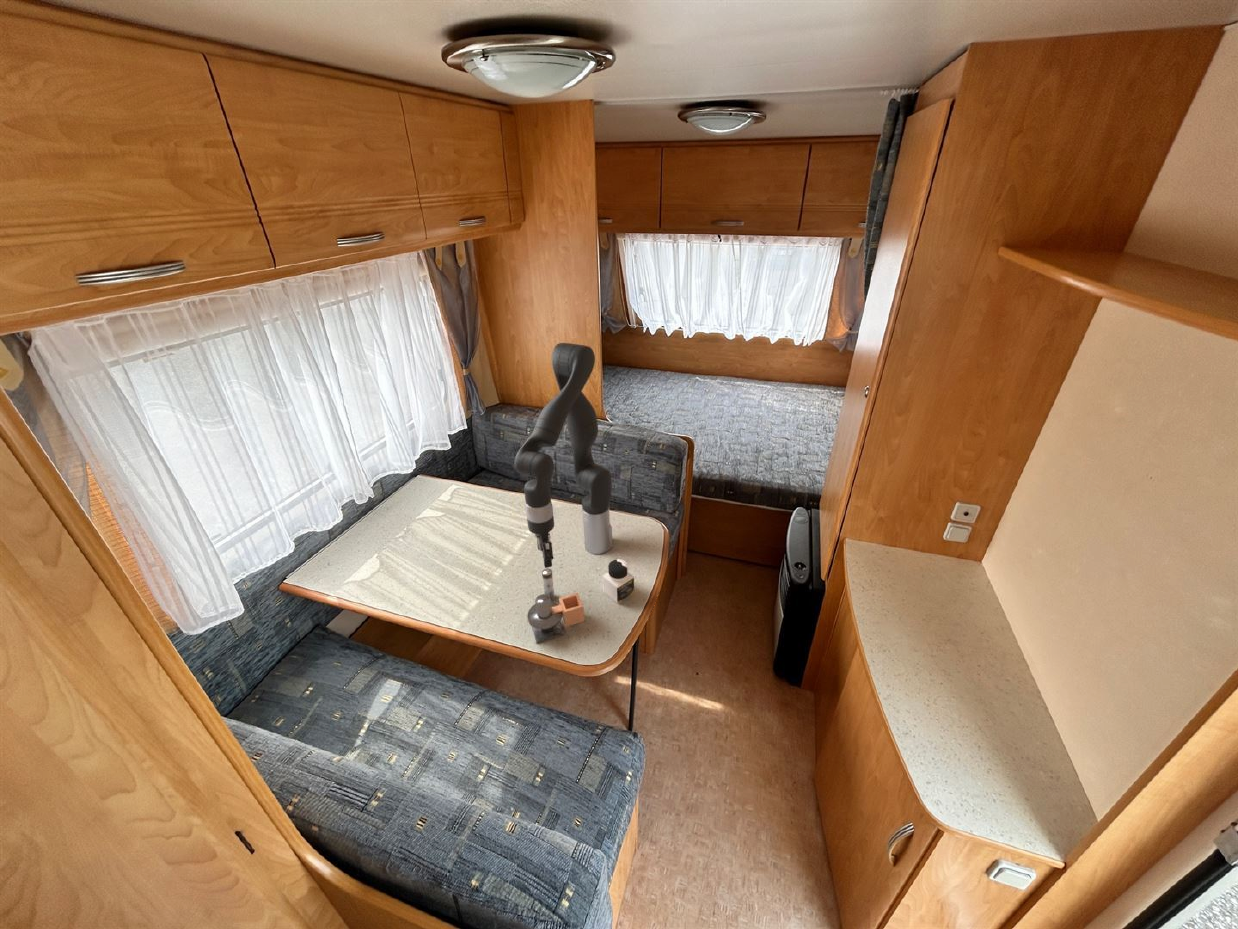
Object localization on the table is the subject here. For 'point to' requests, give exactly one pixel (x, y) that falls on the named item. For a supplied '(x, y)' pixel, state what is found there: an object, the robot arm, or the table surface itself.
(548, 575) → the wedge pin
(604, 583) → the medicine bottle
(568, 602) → the bracket
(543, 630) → the grey ball joystick
